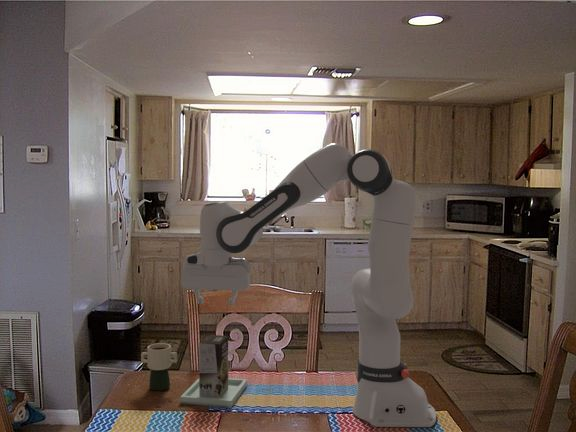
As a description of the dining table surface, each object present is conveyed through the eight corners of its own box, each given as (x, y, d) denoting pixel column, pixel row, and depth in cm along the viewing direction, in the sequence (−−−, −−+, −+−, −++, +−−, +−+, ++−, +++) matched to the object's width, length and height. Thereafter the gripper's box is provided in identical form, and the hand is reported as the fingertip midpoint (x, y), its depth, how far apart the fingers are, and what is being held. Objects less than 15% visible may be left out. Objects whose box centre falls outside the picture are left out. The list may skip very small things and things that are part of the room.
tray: (247, 385, 180) (247, 379, 180) (231, 407, 163) (231, 401, 163) (201, 382, 183) (201, 375, 183) (180, 403, 166) (180, 396, 166)
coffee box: (219, 399, 168) (219, 344, 167) (198, 397, 169) (198, 342, 168) (229, 387, 177) (229, 335, 176) (209, 385, 178) (208, 334, 177)
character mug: (179, 383, 181) (179, 342, 180) (175, 392, 174) (175, 350, 173) (144, 383, 181) (143, 342, 180) (138, 392, 174) (138, 350, 173)
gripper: (252, 256, 171) (253, 303, 172) (186, 254, 175) (187, 300, 176) (247, 260, 165) (247, 308, 166) (178, 257, 169) (179, 304, 170)
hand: (216, 304), depth 171 cm, fingers open, 8 cm apart
